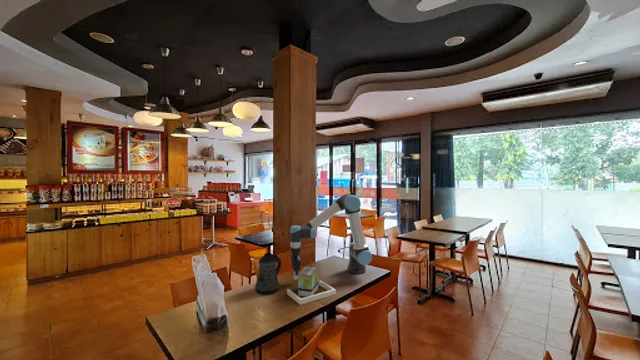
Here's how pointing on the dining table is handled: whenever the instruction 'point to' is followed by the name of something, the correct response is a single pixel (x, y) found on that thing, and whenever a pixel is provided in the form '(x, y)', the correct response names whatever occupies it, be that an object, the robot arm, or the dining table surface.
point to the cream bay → (314, 297)
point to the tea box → (308, 281)
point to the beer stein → (268, 274)
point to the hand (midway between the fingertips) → (295, 279)
